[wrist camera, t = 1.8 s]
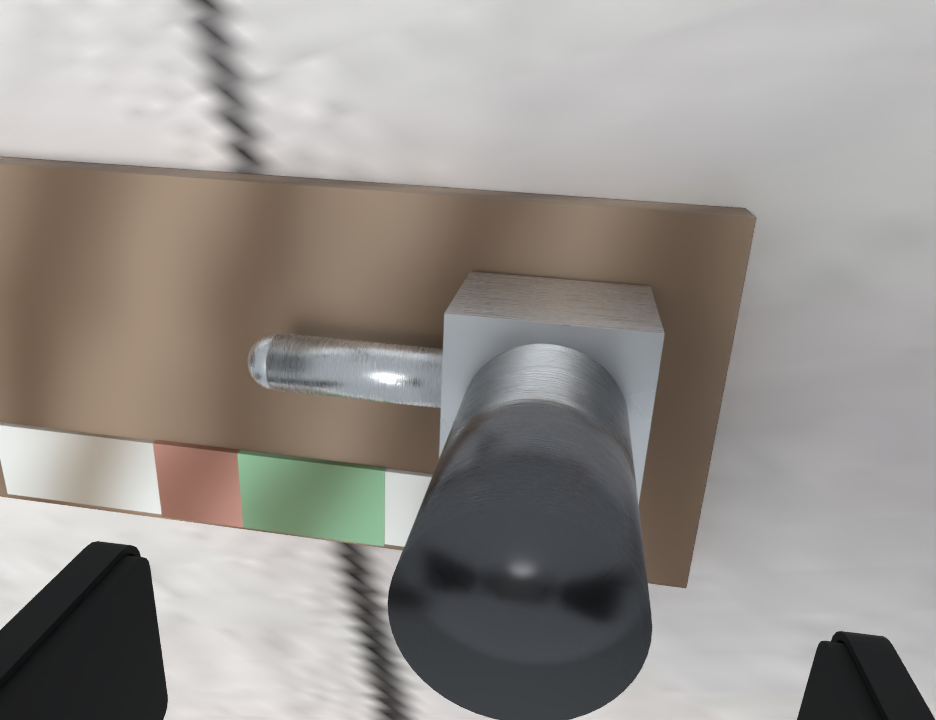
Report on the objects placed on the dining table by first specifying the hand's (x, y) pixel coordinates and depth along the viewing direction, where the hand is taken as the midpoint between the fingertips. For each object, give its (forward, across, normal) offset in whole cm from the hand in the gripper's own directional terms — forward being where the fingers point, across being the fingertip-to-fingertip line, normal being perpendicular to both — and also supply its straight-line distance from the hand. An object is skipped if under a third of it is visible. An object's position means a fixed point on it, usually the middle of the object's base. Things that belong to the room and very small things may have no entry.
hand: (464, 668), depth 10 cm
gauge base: (+14, +8, +2) cm, 16 cm away
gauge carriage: (+12, +2, +2) cm, 12 cm away
